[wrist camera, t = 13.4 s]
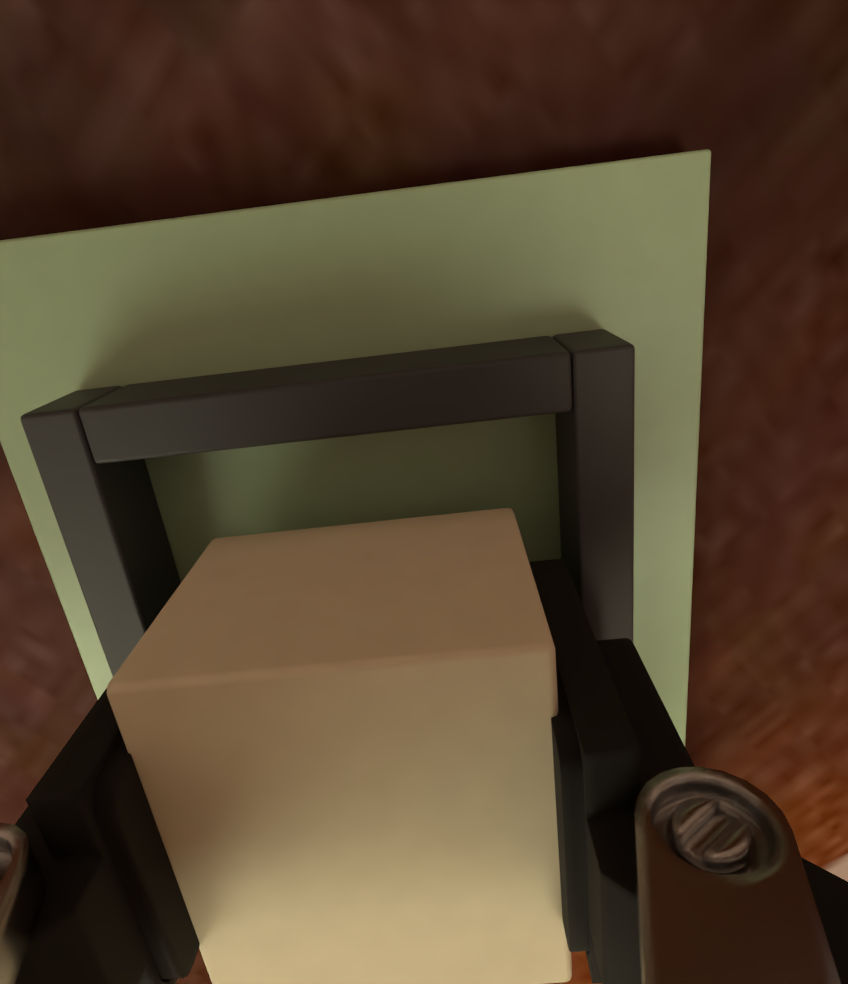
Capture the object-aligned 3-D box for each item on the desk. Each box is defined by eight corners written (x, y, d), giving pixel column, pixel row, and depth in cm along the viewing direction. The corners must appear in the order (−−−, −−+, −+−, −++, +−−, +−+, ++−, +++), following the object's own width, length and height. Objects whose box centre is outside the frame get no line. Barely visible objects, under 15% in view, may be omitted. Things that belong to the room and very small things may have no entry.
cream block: (211, 536, 10) (100, 688, 6) (512, 505, 9) (557, 646, 6) (278, 789, 11) (217, 1008, 8) (532, 768, 11) (573, 985, 8)
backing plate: (-37, 248, 10) (-164, 252, 8) (690, 154, 9) (767, 131, 7) (179, 854, 15) (137, 959, 13) (668, 814, 14) (711, 917, 12)
